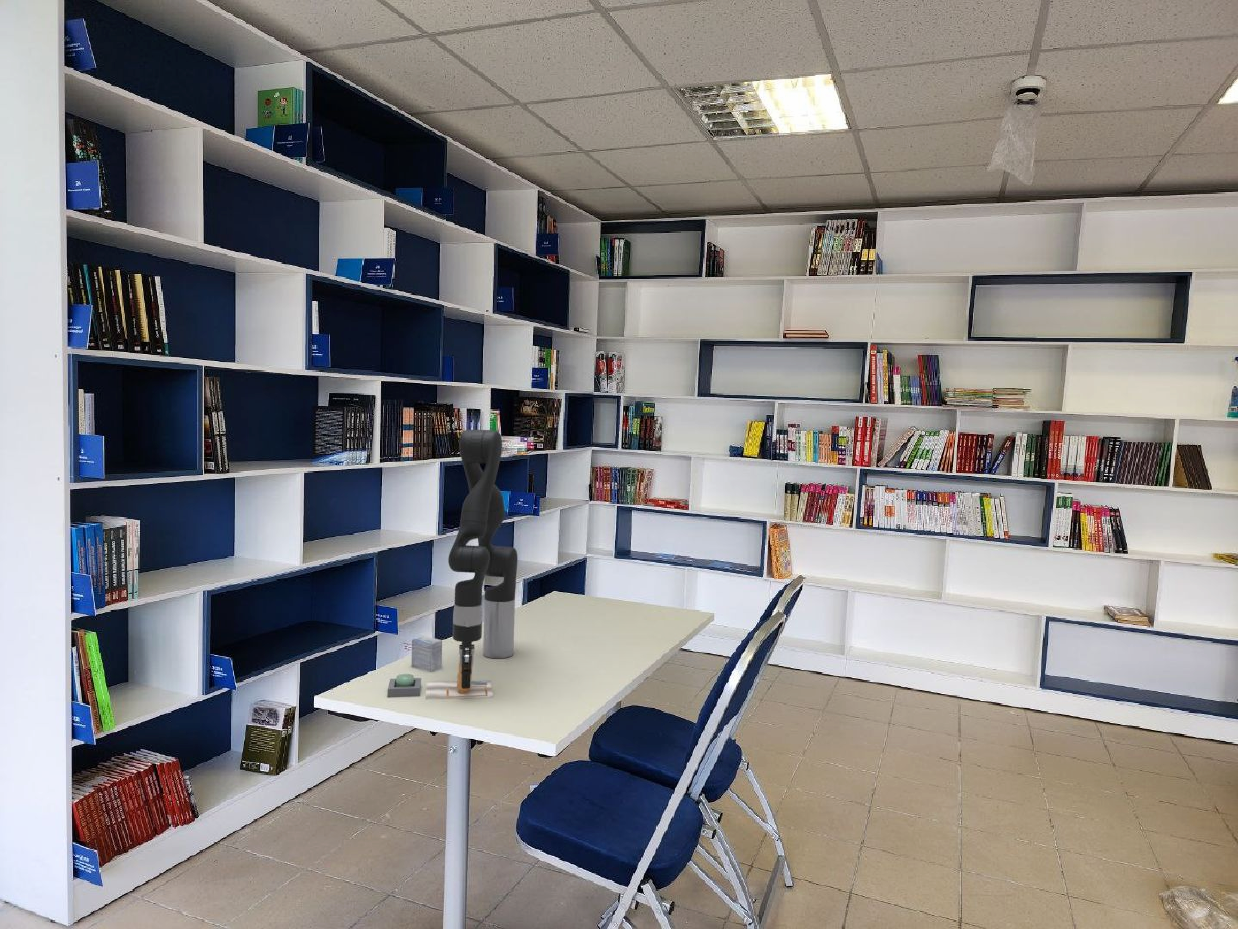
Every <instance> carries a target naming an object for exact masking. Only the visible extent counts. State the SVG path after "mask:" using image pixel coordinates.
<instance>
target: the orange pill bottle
mask: <svg viewBox="0 0 1238 929" xmlns="http://www.w3.org/2000/svg"><path fill="white" fill-rule="evenodd" d="M473 661H474V657H473ZM473 665H474V664H473ZM473 665H472V666H471V671H472V673H471V675H470V688H471V681H472V677H473ZM466 669H469V668H464V670H466ZM457 670H458V672H457V680H456V681H457V689H458V692H460V693H468V690H469V689H470V688H469V689H463V688H462V673H461V671H462V666H461V665H460V656H459V659H458V669H457Z"/></svg>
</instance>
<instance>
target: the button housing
mask: <svg viewBox="0 0 1238 929" xmlns="http://www.w3.org/2000/svg"><path fill="white" fill-rule="evenodd" d="M421 688H422V677H414V686H413V687H396V678H390V679H389V682H388V688H387V698H404V697H405V698H406V697H407V698H409V697H420V696H421V691H422V690H421Z"/></svg>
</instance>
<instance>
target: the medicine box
mask: <svg viewBox="0 0 1238 929" xmlns="http://www.w3.org/2000/svg"><path fill="white" fill-rule="evenodd" d="M411 668H414V669H419V670H423V671H426V672H430V673H433V672H436V671H439V670H441V669H443V640H442V639H438V638H434V637H429V636H424V635H421V636H417V637H414V638H411Z"/></svg>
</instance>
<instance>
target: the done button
mask: <svg viewBox="0 0 1238 929" xmlns="http://www.w3.org/2000/svg"><path fill="white" fill-rule="evenodd" d="M414 676H415V675H413V674H410V673H404V674H398V675H397V676H396V678H395V679H396V687H413V686H414V678H415V677H414Z"/></svg>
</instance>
